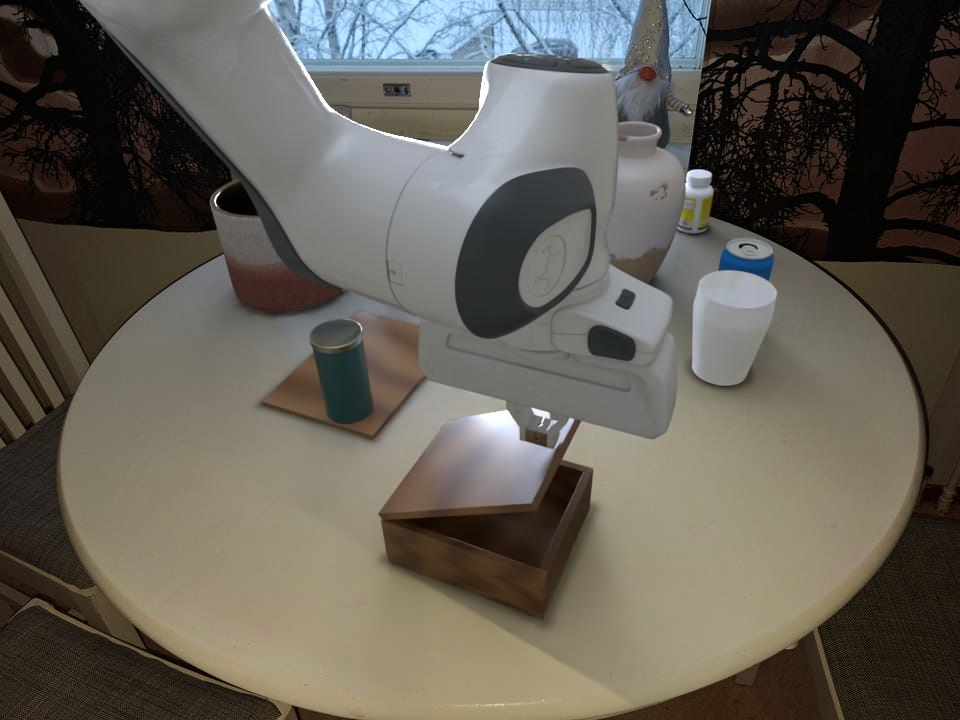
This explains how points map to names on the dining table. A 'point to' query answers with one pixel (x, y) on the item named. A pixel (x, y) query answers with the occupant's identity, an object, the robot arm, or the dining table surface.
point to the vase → (644, 202)
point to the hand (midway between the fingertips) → (539, 440)
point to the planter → (259, 258)
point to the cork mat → (388, 370)
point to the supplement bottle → (696, 202)
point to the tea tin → (342, 370)
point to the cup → (729, 324)
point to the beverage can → (747, 257)
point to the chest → (500, 545)
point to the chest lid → (478, 470)
